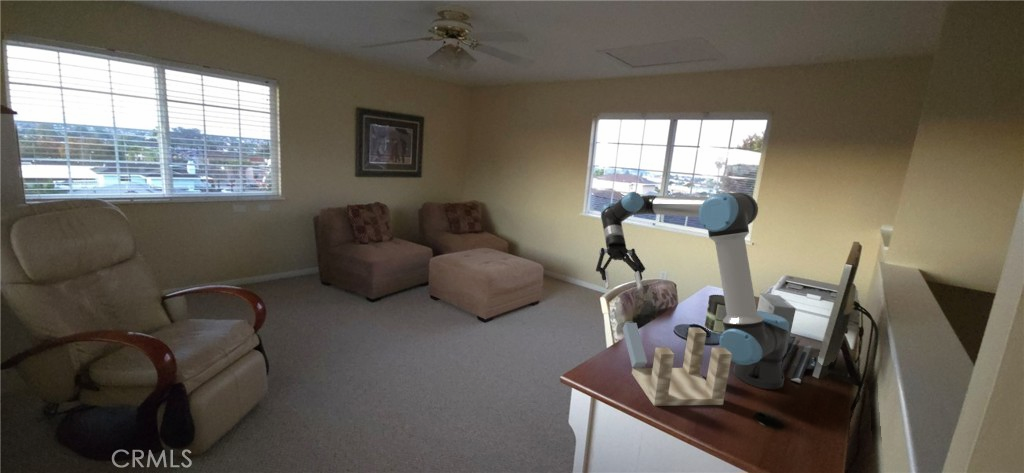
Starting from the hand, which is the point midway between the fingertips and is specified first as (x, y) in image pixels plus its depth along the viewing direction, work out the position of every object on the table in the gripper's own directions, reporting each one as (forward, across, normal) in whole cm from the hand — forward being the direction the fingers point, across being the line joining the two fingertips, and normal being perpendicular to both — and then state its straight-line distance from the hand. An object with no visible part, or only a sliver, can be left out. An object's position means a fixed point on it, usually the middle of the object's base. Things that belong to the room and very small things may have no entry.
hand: (624, 288), depth 158 cm
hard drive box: (+18, -62, -16) cm, 67 cm away
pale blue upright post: (+29, 0, +1) cm, 29 cm away
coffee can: (+7, -50, -27) cm, 58 cm away
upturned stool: (+37, -9, +4) cm, 39 cm away
